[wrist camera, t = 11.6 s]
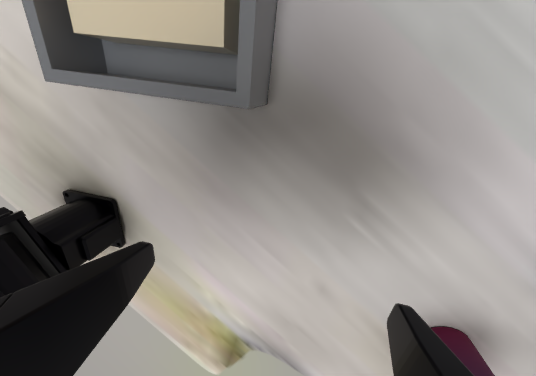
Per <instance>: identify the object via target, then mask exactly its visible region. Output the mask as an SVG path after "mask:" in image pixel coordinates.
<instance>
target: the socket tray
mask: <svg viewBox="0 0 536 376" xmlns="http://www.w3.org/2000/svg"><path fill="white" fill-rule="evenodd" d="M22 3H23V7H24V10H25V13H26V17H27V20H28V24H29V27H30V30H31V34H32V37H33V41H34V44H35V48H36V51H37V54H38V58H39V61H40V65H41V68H42V71H43V75H44V78H45V81H47V82H54V83H62V84H69V85H76V86H84V87H91V88H98V89H106V90H113V91H120V92H128V93H135V94H142V95H150V96H157V97H164V98H172V99H179V100H186V101H193V102H201V103H208V104H215V105H223V106H230V107H237V108H245V109H251V108H255V107H258V106H262V105H266V104H267V100H268V90H269V80H270V70H271V60H272V49H273V39H274V29H275V19H276V9H277V0H22Z"/></svg>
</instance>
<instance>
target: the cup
mask: <svg viewBox="0 0 536 376" xmlns="http://www.w3.org/2000/svg"><path fill="white" fill-rule="evenodd" d="M431 329H432V330H433V331H434V332H435V333H436V334H437V336H438V337H439V338H440V339H441V340H442V341H443V342H444V343H445V344H446V345H447V346H448V348H449V349H450V350H451V351H452V352H453V353H454V354H455V355H456V356H457V357H458V358H459V360H460V361H461V362H462V363H463V364H464V365H465V366H466V367H467V368H468V369H469V370H470V372H471V373H472V374H473V375H474V376H495V375H494V374H493V373H492V371H491V370H490V368H489V367H488V365H487V364H486V362H485V361H484V359H483V358H482V356H481V355H480V354H479V352H478V351H477V349H476V348H475V346H474V345H473V343H472V342H471V340H470V339H469V338H468V336H467V335H466V334H464V333H463V332H461V331H459V330H457V329H454V328H449V327H433V328H431Z"/></svg>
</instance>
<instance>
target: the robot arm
mask: <svg viewBox="0 0 536 376" xmlns="http://www.w3.org/2000/svg"><path fill="white" fill-rule="evenodd" d="M63 196H64V199H65V202H66V204H65V205H63V206H60V207H58V208H56V209H54V210H51V211H49V212H47V213H45V214H43V215H40V216H38V217H36V218H34V219H31V220H29V221H28V220H27V218H26V217H25V216H26V215H25V214H24V212H23V211H22V210H21V211H18V212H15V213H13V211H10V210H8V209H6V208H5V207H2V208H0V376H73V375H74V374H75V373H76V371H77V370H78V369H79V367H80V366H81V365H82V363H83V362H84V361H85V360H86V358H87V357H88V356H89V354H90V353H91V352H92V350H93V349H94V348H95V347H96V345H97V344H98V343H99V341H100V340H101V339H102V337H103V336H104V335H105V334H106V332H107V331H108V330H109V328H110V327H111V326H112V325H113V323H114V322H115V321H116V319H117V318H118V317H119V315H120V314H121V313H122V312H123V310H124V309H125V307H126V306H127V305H128V304H129V302H130V301H131V299H132V298H133V296H134V295H135V293H136V292H137V290H138V289H139V287H140V285H141V284H142V282H143V281H144V279H145V278H146V276H147V274H148V273H149V271H150V270H151V268H152V267H153V265H154V262H155V256H154V250H153V245H152V244H151V243H147V242H138V243H136V244H133V245H131V246H128V247H126V248H123V249H121V250H118V251H116V252H113V253H111V254H108V255H106V256H103V257H101V258H98V259H96V260H93V261H91V262H88V263H86V264H83V263H84V262H86V261H87V260H89V261H90V260H92V259H93V258H94V257H96V256H97V255H98V254H100V253H101V252H102V251H104V250H105V249H106V248H108V247H109V246H110V245H111V246H115V247H119V248H121V247H123V246H124V245H125V242H124V237H123V233H122V228H121V223H120V219H119V214H118V209H117V205H116V202H115V201H114V200H113V199H110V198H105V197H101V196H96V195H91V194H87V193H82V192H78V191H73V190H66V191H63ZM82 264H83V265H82ZM80 265H81V266H80ZM387 329H388V337H389V344H390V352H391V359H392V367H393V373H394V376H474V375H473V374H472V373H471V372H470V370H469V369H468V368H467V367H466V366H465V365H464V364H463V363H462V362H461V361H460V360H459V358H458V357H457V356H456V355H455V354H454V353H453V352H452V351H451V350H450V349H449V348H448V346H447V345H446V344H445V343H444V342H443V341H442V340H441V339H440V338H439V337H438V336H437V334H436V333H435V332H434V331H433V330H432V329H431V328H430V327H429V326H428V325H427V324H426V322H425V321H424V320H423V319H422V318H421V317H420V316H419V315H418V314H417V313H416V312H415V311H414V309H413V308H411V307H410V306H408V305H403V304H399V303H397V304H395V306H394V307H393V309H392V311H391V313H390V315H389V317H388V320H387Z"/></svg>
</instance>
